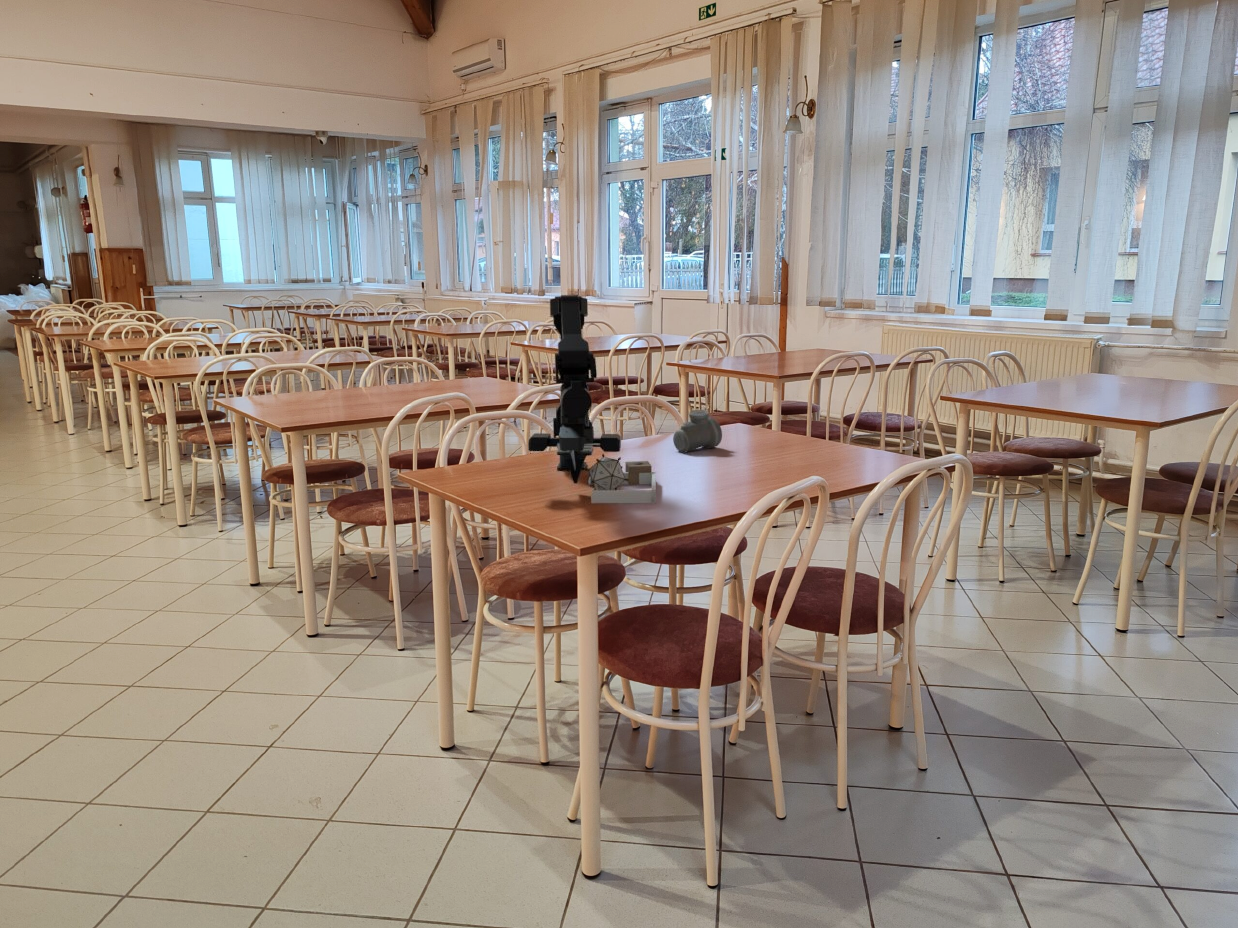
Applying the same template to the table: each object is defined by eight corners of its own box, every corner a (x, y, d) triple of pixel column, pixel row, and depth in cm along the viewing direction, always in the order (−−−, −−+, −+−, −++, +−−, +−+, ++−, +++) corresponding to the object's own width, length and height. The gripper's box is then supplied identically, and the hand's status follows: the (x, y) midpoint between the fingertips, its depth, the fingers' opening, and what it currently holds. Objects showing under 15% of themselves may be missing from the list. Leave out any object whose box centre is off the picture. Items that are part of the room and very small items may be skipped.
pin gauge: (588, 477, 195) (588, 466, 195) (599, 477, 195) (599, 466, 195) (586, 485, 188) (585, 475, 187) (597, 485, 188) (597, 475, 187)
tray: (597, 483, 190) (596, 472, 189) (655, 483, 189) (655, 472, 189) (591, 503, 174) (591, 491, 173) (655, 503, 173) (655, 491, 173)
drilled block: (625, 479, 193) (625, 461, 192) (647, 478, 194) (647, 460, 193) (628, 484, 188) (628, 466, 187) (651, 483, 189) (651, 465, 188)
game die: (603, 512, 180) (582, 480, 174) (593, 489, 187) (573, 457, 181) (640, 491, 180) (620, 459, 174) (629, 469, 187) (610, 437, 181)
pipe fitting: (702, 442, 232) (701, 405, 228) (723, 449, 226) (723, 411, 222) (668, 453, 225) (666, 415, 221) (689, 460, 219) (688, 422, 215)
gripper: (523, 414, 171) (525, 492, 174) (618, 415, 170) (618, 493, 173) (531, 406, 182) (533, 479, 185) (621, 407, 181) (621, 480, 184)
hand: (575, 483), depth 181 cm, fingers closed
